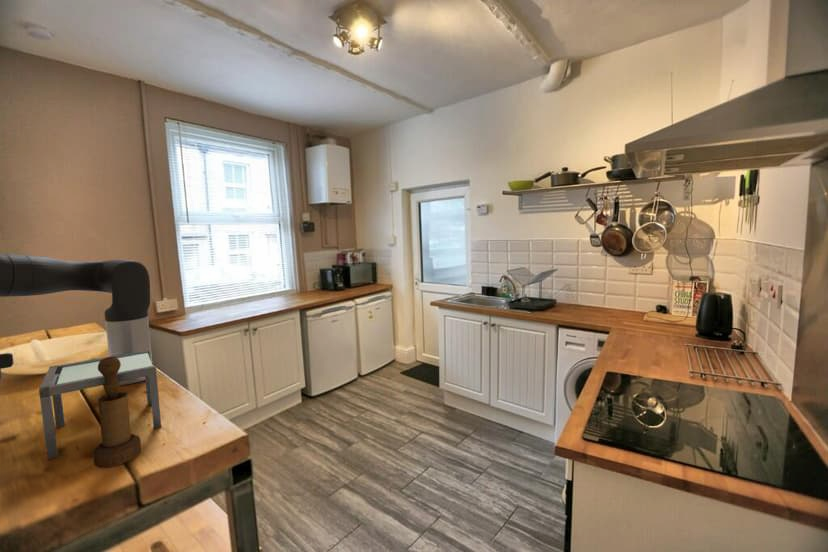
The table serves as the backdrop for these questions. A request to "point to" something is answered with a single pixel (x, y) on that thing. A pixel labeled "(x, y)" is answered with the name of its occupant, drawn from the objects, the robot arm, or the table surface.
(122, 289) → the robot arm
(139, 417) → the table surface
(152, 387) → the frame
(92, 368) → the trapdoor
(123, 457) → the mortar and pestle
